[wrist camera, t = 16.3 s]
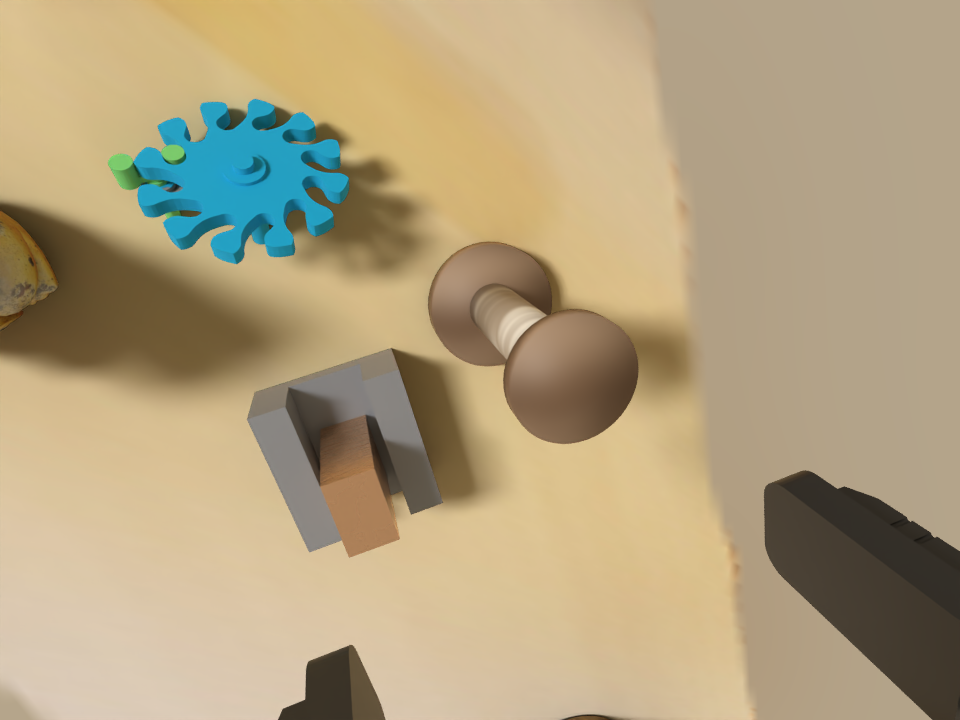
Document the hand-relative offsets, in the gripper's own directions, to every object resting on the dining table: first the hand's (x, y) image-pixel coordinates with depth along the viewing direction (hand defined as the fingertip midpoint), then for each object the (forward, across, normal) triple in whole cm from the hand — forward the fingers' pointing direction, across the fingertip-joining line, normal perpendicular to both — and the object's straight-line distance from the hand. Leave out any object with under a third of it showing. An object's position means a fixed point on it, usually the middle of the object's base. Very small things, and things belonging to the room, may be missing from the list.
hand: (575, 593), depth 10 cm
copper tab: (+27, +6, +11) cm, 29 cm away
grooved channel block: (+28, +6, +10) cm, 30 cm away
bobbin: (+28, -5, +4) cm, 29 cm away
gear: (+28, +6, -7) cm, 30 cm away
